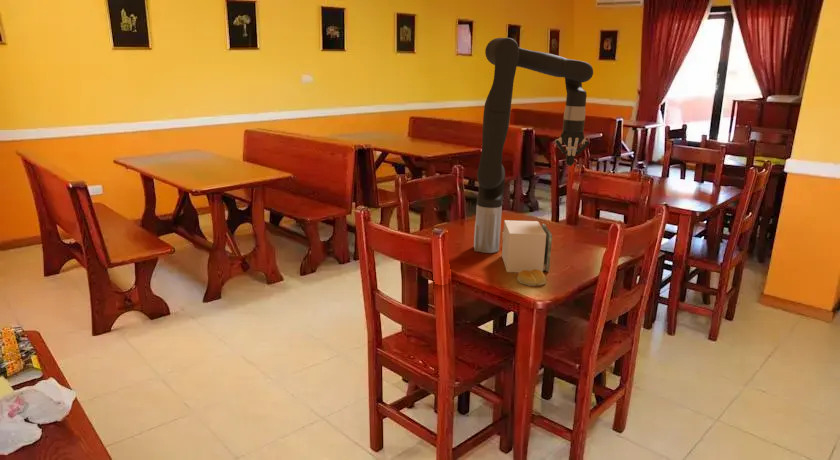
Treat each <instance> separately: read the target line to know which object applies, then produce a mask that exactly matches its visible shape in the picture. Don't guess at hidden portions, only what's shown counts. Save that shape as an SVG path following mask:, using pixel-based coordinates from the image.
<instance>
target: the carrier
mask: <svg viewBox="0 0 840 460" xmlns="http://www.w3.org/2000/svg"><path fill="white" fill-rule="evenodd" d="M541 227H542V228H543V230H544V232H545V233H546V244H545V255H544V266H543V271H545V272H550V266H551V265H550V264H551V253H552V243H553V234H552V232H551V231H550V229H549V227H548V226H547V224H546V223H542V224H541Z"/></svg>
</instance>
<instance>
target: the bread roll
mask: <svg viewBox="0 0 840 460" xmlns="http://www.w3.org/2000/svg"><path fill="white" fill-rule="evenodd" d="M516 278H517V282H519V283H520V284H522V285H524V286H528V287H536V286H539V287H540V286H543V285H546V284H547V281H546V279H547V278H546V274H544V271H543V272H542V271H540V270H536V269H535V270H531V271H527V270H523V271H521V272H518V274H517V277H516Z"/></svg>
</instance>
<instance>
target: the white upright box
mask: <svg viewBox="0 0 840 460" xmlns="http://www.w3.org/2000/svg"><path fill="white" fill-rule="evenodd" d="M502 235H503V236H502V247H501V248H502V249H501V250H502V251H501V257H502V260H503V261H502V262H503V264H504V267H505V270H506V272H507V273H520V272H521V271H523V270H527V271H531V270H535V269H536V270H540V271H542V272H543V273H544V270H543V266H544V255H545V244H546V233H545V232H544V230H543V228H542V224H540V222H539V221H537V220H508V219H505V220H503V234H502Z"/></svg>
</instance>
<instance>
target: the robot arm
mask: <svg viewBox="0 0 840 460" xmlns="http://www.w3.org/2000/svg"><path fill="white" fill-rule="evenodd" d="M484 50H485V51H484V53H485V57H486V59H487V61H488V62H489V63H490V64H492V65H493V66H494V74H493V81H492V84H491V87H490V90H489V92H488V95H487V97H486V100H485V103H484V107H483V116H482V117H483V118H482V135H481V136H482V137H481V142H482V143H481V152H480V153H481V155H480V159H479V163H478V168H477V174H476V176H477V178H476V179H477V181H478V193H477V196H476V210H475V211H476V212H475V214H476V215H475V223H474V233H473V234H474V236H473V249H474V252H479V253H483V254H484V253H485V254H493V253H497V252H499V251H500V241H501V240H500V239H501V238H500V237H501V225H502V211H503V210H502V209H503V199H504V195H505V194H504V193H505V181H506V169H505V167H504V165H503V151H504V146H505V143H506V139H507V135H508V131H509V127H510V121H511V112H512V111H511V110H512V100H513V91H514V90H513V89H514V81H515V75H516V72H517V71H516V70H517V67H518V68H523V69H527V70H531V71H533V72H537V73H540V74H544V75H548V76H551V77H554V78H555V77H556V78H563V79H564V85H565V90H566V97H565V98H566V99H565V107H564V114H563V123H562V131H561V132H562V133H561V134H560V137H559V138H557V139H554V143H555V144H556V146H557V148H558V149H559V151H560V152H561V153H562V154H563V155H565V164H566V166H569V167H572V166H573V165H574V164H575V159H576V158H575V157H576V156H577V155H581V154H582V153H583V151H584V150H585V149H586V148H587V147H588V146H589V145H590V141H588V140H587V139H586V138H585V135H584V129H585V121H586V104H587V91H586V90H584V89H583V84H582V83H587V82H588V81H590V80H591V79H592V77H593V75H594V68H593V66H592V65H591V64H590V62H589V63H588V62H587V61H582V60H578V59H572V58H571V59H570V58H566V57H564V56H560V55H556V54H553V53H549V52H543V51H536V50H531V49H526V48H522V47H519V45H518V42H517V41H516V40H515V39H513V38H511V37H495V38H493V39H491V40H490V41H489V42H488V43H487V45H486V47H485V49H484ZM562 144H564V146H565V148H566V149H565V148H564V147H563V145H562ZM580 144H581V145H580ZM578 146H579V147H578Z"/></svg>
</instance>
